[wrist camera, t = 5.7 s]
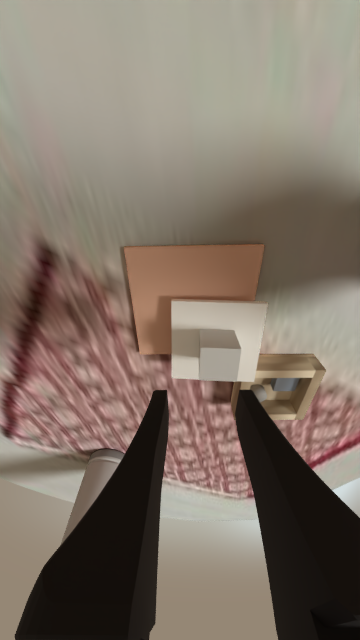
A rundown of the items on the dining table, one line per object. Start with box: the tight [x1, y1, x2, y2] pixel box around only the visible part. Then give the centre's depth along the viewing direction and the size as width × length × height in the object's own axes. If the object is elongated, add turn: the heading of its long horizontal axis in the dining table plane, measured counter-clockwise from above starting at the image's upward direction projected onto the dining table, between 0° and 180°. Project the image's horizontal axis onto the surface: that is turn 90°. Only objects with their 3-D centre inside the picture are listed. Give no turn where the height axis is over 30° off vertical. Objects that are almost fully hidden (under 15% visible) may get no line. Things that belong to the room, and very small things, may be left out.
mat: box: [124, 244, 265, 354], centre depth 20 cm, size 11×11×1 cm
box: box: [231, 354, 326, 420], centre depth 24 cm, size 8×8×2 cm
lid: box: [171, 299, 268, 382], centre depth 19 cm, size 8×8×5 cm
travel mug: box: [60, 449, 125, 546], centre depth 27 cm, size 6×7×20 cm
